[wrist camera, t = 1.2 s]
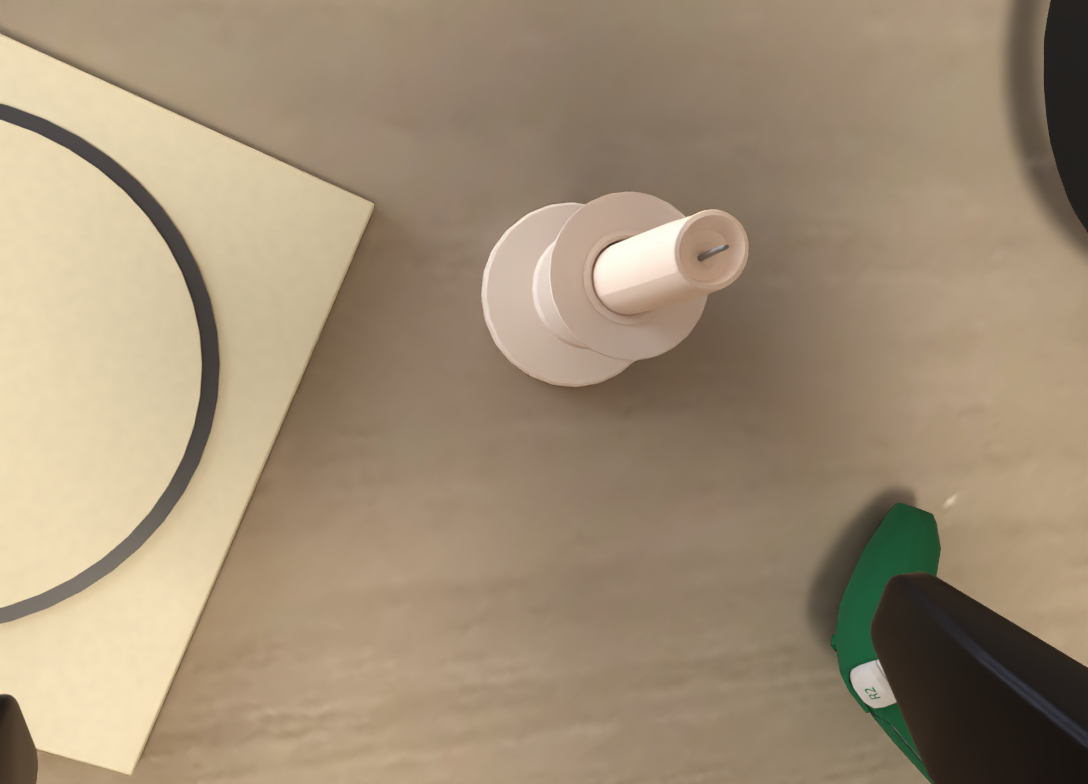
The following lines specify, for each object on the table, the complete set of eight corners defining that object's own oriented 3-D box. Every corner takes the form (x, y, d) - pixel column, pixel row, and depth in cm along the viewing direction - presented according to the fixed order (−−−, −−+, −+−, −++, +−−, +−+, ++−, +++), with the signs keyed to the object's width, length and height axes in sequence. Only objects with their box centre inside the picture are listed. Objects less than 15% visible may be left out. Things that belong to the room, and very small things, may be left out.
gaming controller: (814, 530, 30) (791, 664, 25) (919, 484, 27) (916, 622, 23) (973, 716, 31) (981, 875, 26) (1085, 687, 29) (1115, 855, 24)
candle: (633, 404, 26) (825, 422, 16) (461, 363, 25) (552, 354, 15) (672, 233, 26) (886, 144, 16) (503, 183, 25) (621, 54, 15)
